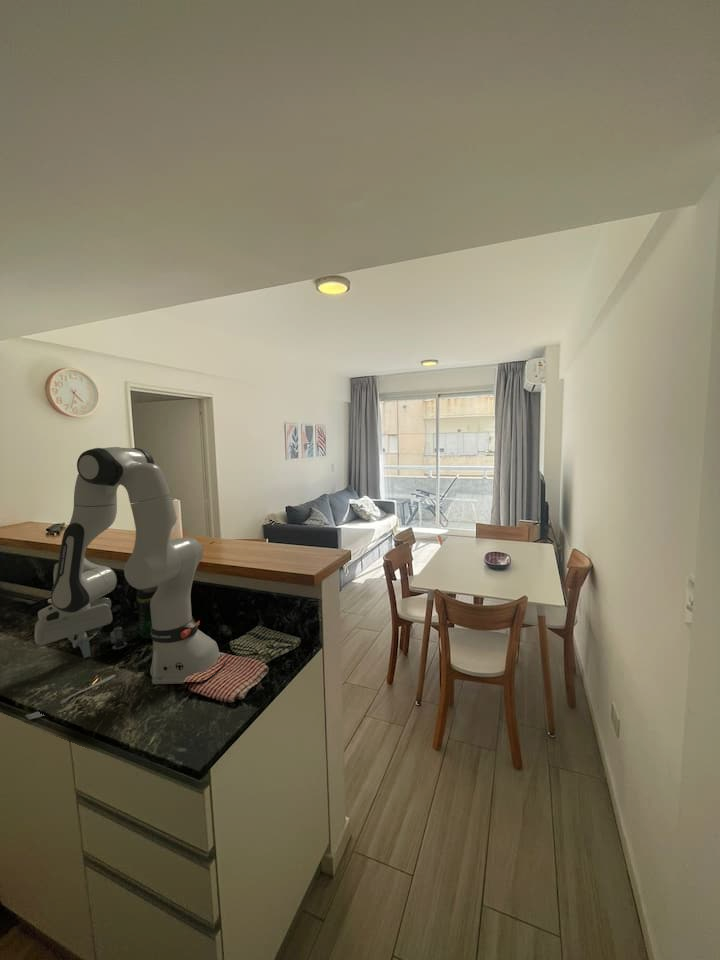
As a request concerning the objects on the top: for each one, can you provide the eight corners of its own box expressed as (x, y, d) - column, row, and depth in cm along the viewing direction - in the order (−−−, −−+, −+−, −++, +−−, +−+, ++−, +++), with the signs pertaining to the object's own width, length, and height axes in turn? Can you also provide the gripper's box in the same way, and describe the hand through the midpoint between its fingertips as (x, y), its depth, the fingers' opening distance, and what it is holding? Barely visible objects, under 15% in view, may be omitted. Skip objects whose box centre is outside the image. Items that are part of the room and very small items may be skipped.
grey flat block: (78, 644, 131) (76, 629, 130) (85, 642, 132) (83, 627, 132) (83, 658, 122) (81, 642, 122) (91, 655, 123) (89, 639, 123)
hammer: (131, 642, 132) (129, 625, 131) (119, 650, 127) (118, 632, 126) (115, 641, 133) (113, 623, 133) (103, 648, 128) (101, 630, 128)
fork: (128, 672, 115) (127, 666, 115) (30, 726, 94) (29, 719, 94) (121, 669, 117) (121, 664, 116) (24, 721, 95) (23, 715, 95)
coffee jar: (145, 642, 132) (140, 591, 130) (137, 635, 137) (132, 586, 135) (173, 631, 139) (169, 582, 137) (164, 625, 144) (160, 578, 143)
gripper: (107, 593, 131) (110, 630, 133) (31, 613, 116) (35, 655, 118) (113, 598, 127) (116, 636, 129) (34, 620, 112) (39, 663, 113)
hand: (77, 646), depth 123 cm, fingers closed
